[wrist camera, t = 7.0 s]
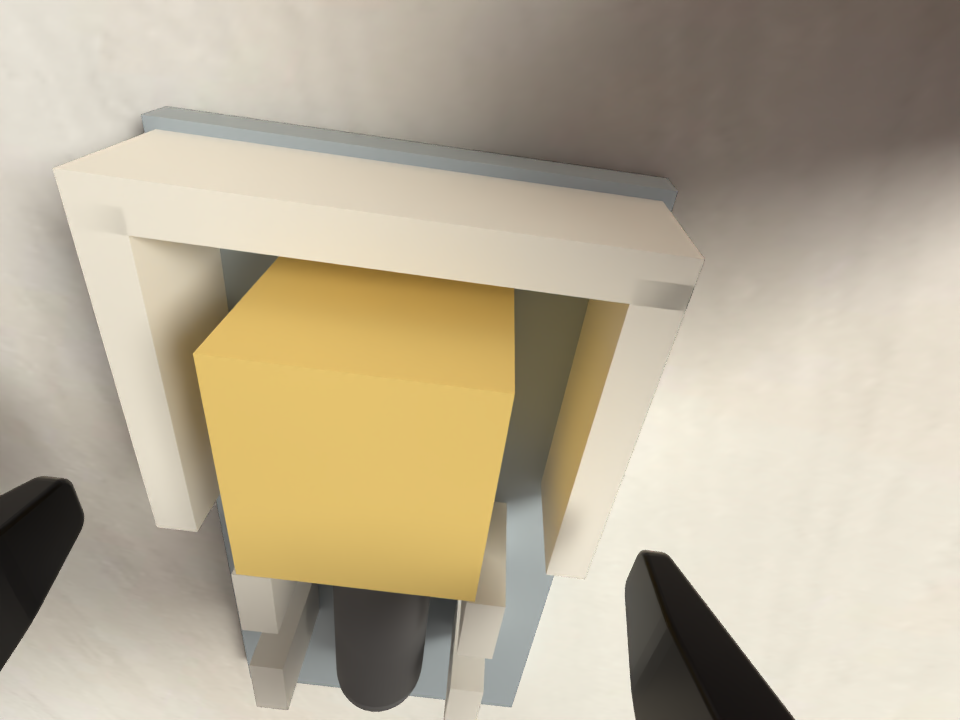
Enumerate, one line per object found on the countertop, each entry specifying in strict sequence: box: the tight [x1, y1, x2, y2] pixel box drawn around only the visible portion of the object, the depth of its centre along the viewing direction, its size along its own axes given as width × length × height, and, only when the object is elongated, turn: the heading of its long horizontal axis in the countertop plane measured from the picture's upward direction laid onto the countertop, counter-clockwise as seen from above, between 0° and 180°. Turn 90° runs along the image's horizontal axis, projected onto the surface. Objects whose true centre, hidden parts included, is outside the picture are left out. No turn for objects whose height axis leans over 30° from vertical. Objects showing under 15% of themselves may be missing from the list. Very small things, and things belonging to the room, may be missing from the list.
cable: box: [193, 256, 515, 712], centre depth 12 cm, size 13×4×4 cm, turn 173°
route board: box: [52, 106, 705, 720], centre depth 13 cm, size 18×9×4 cm, turn 173°
